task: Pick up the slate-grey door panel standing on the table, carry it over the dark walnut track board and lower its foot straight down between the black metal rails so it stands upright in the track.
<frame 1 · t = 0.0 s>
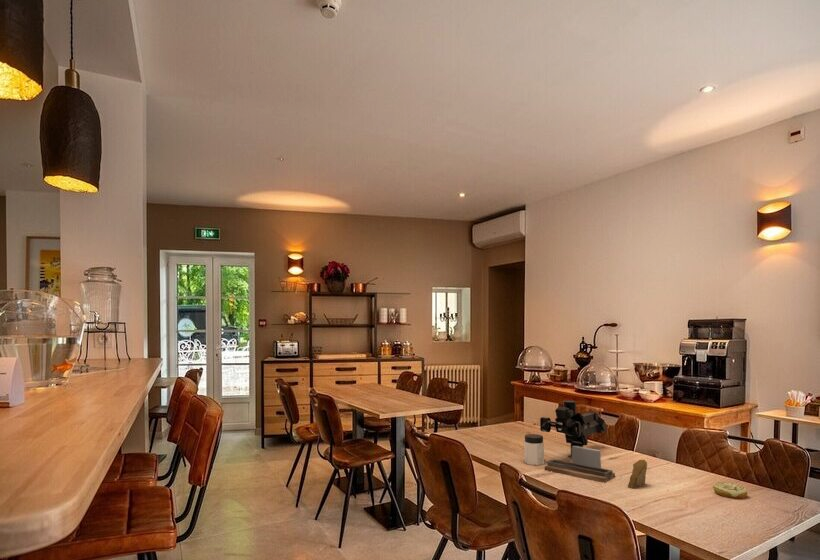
hand: (551, 429, 228), 17 cm above the table, tool horizontal, fingers open, 9 cm apart
track board: (579, 473, 219), on the table
door panel: (586, 466, 229), on the table
rock: (635, 485, 204), on the table
jar: (534, 463, 235), on the table
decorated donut: (730, 495, 193), on the table
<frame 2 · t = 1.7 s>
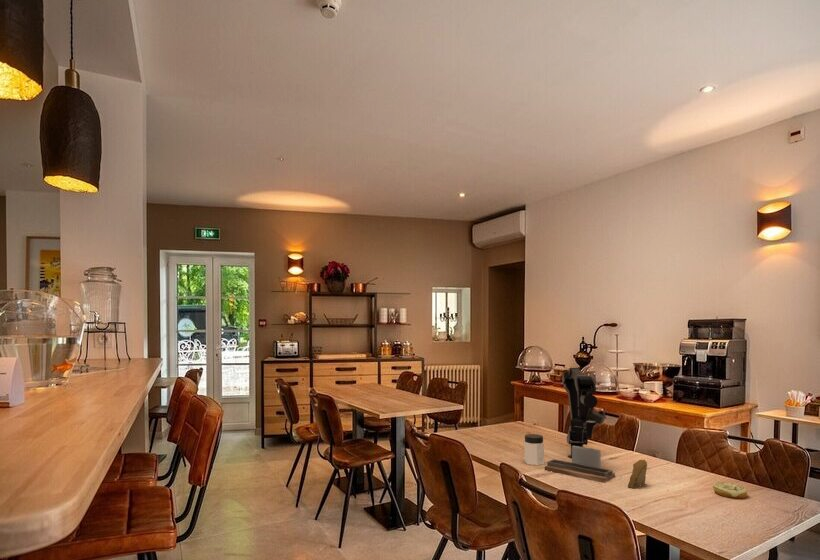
hand: (585, 440, 230), 11 cm above the table, tool pointing down, fingers open, 9 cm apart
nothing on the table moved.
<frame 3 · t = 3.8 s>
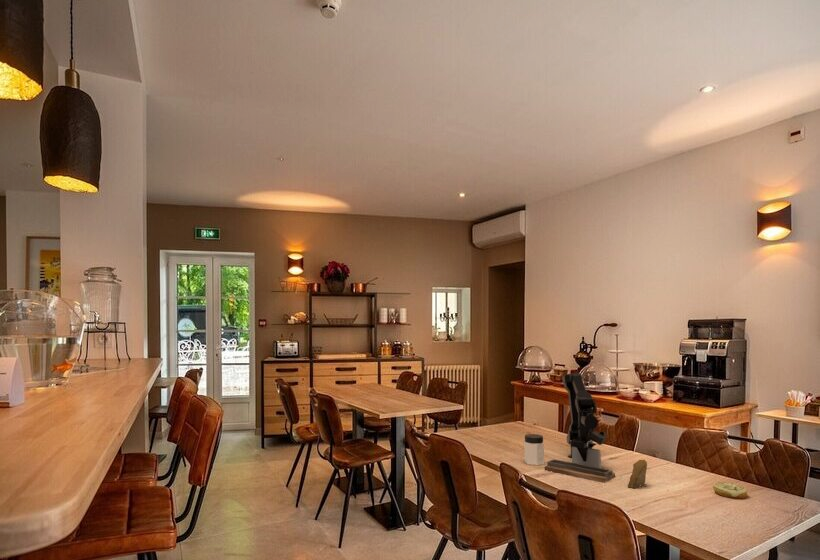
hand: (586, 460, 230), 3 cm above the table, tool pointing down, fingers closed on door panel, 2 cm apart
door panel: (586, 466, 229), on the table, touching gripper
everything else where it was.
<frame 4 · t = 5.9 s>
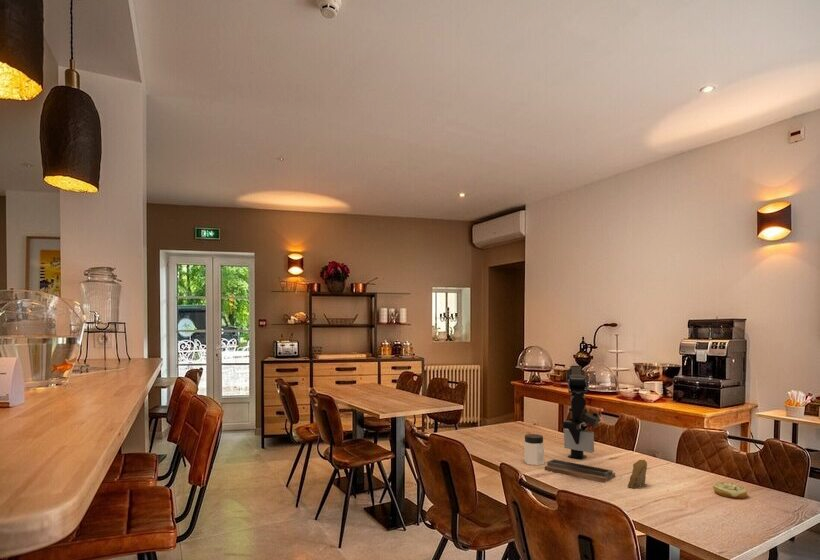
hand: (578, 443, 220), 12 cm above the table, tool pointing down, fingers closed on door panel, 2 cm apart
door panel: (579, 449, 220), point 10 cm above the table, touching gripper
everything else where it was.
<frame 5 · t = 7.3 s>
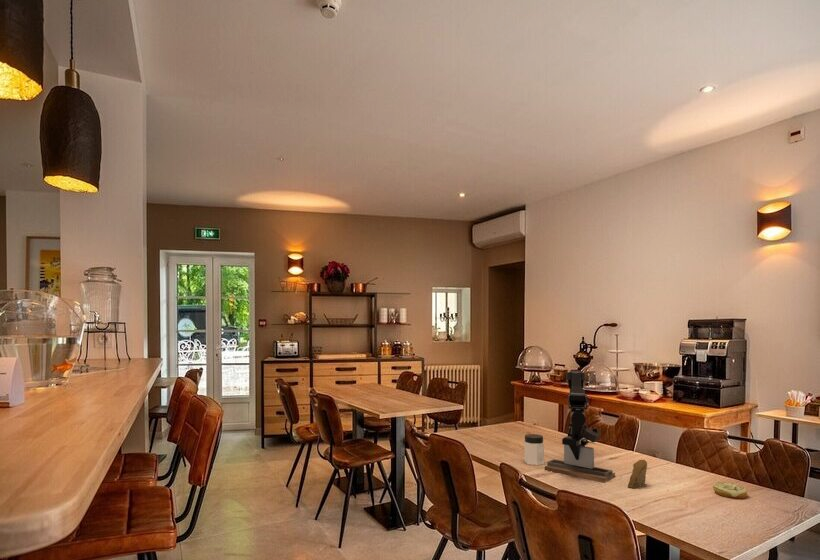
hand: (578, 459, 220), 6 cm above the table, tool pointing down, fingers closed on door panel, 2 cm apart
door panel: (579, 465, 220), point 3 cm above the table, touching gripper
everything else where it was.
when the fingers open (5 cm above the table, at t = 8.5 s): door panel stays where it is, resting on track board.
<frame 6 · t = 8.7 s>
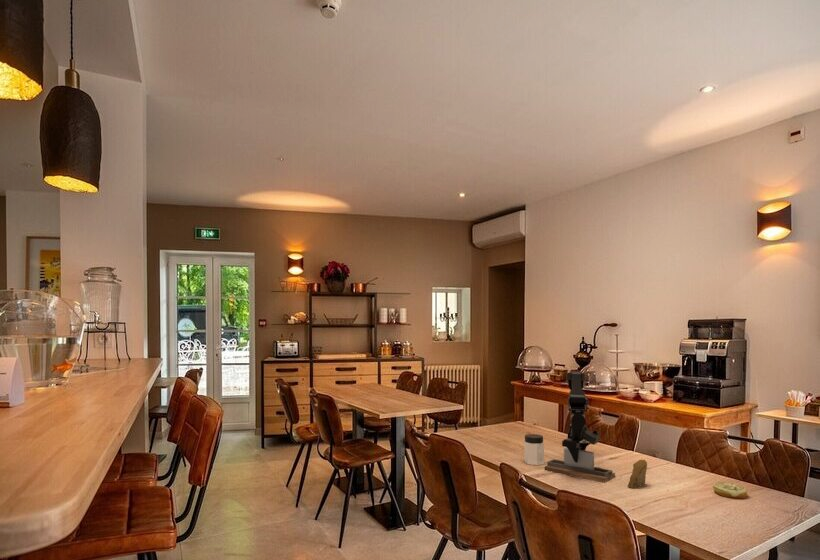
hand: (578, 461, 220), 5 cm above the table, tool pointing down, fingers open, 5 cm apart
door panel: (579, 469, 219), point 1 cm above the table, touching track board
everything else where it was.
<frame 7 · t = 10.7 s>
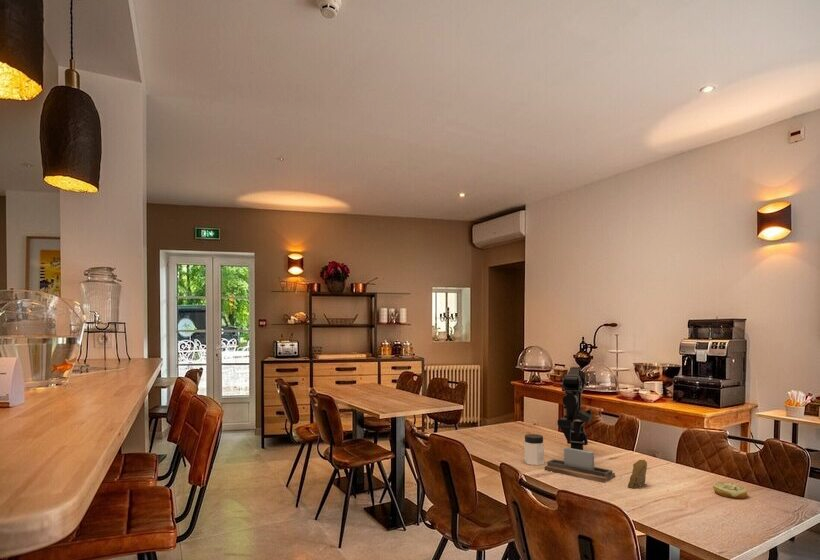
hand: (573, 439, 232), 12 cm above the table, tool pointing down, fingers open, 9 cm apart
nothing on the table moved.
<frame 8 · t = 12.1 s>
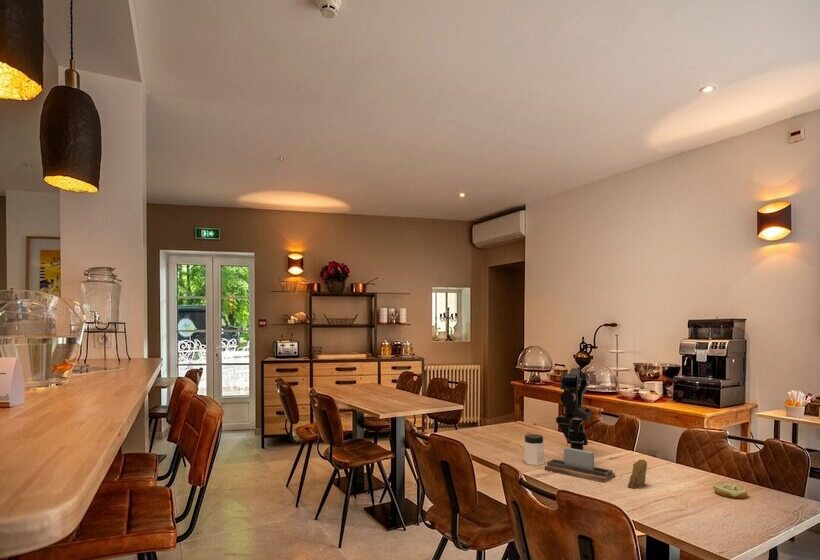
hand: (571, 437, 234), 12 cm above the table, tool pointing down, fingers open, 9 cm apart
nothing on the table moved.
at the end: door panel inside the target area on the track board (0.1 cm from its centre), point 1.5 cm above the track board's base; door panel tilted 0°; the gripper is holding nothing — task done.
